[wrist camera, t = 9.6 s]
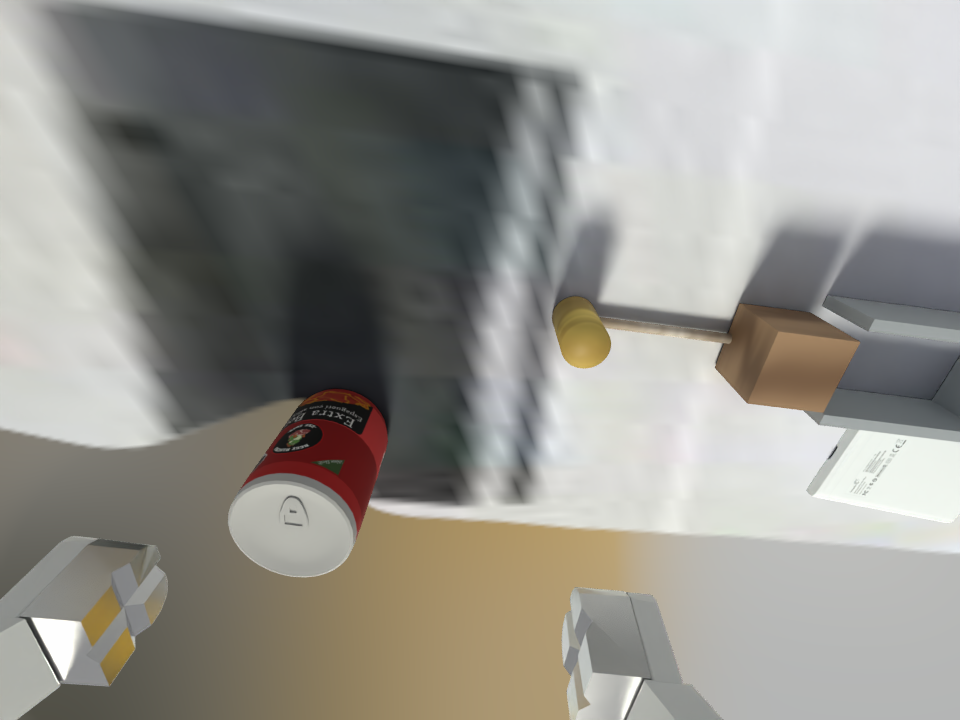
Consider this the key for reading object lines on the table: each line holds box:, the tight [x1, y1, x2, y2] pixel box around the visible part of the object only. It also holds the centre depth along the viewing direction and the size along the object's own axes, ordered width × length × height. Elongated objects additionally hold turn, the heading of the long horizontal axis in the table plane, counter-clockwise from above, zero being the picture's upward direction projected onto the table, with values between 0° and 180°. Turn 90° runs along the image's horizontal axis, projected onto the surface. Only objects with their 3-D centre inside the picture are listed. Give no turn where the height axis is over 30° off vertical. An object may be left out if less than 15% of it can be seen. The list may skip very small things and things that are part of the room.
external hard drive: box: [806, 428, 960, 523], centre depth 38 cm, size 2×8×12 cm
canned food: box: [228, 389, 388, 577], centre depth 34 cm, size 8×8×11 cm
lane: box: [803, 295, 960, 442], centre depth 32 cm, size 8×12×4 cm, turn 83°
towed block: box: [552, 296, 860, 413], centre depth 31 cm, size 5×18×5 cm, turn 83°
